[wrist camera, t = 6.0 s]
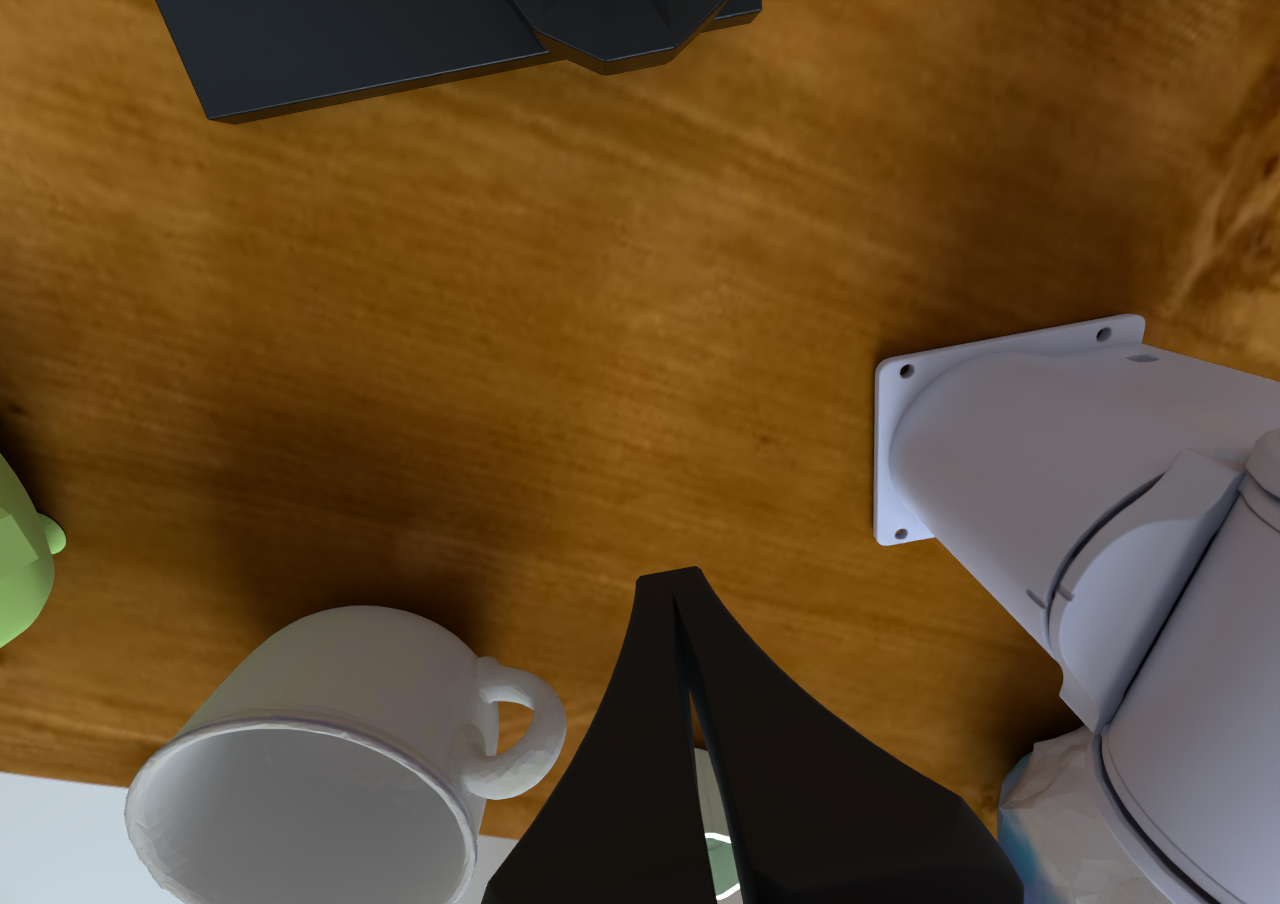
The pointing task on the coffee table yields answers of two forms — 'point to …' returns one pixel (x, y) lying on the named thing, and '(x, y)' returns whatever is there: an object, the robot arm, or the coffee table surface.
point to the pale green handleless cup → (715, 828)
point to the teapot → (23, 556)
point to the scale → (413, 44)
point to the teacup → (340, 767)
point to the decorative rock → (1064, 832)
